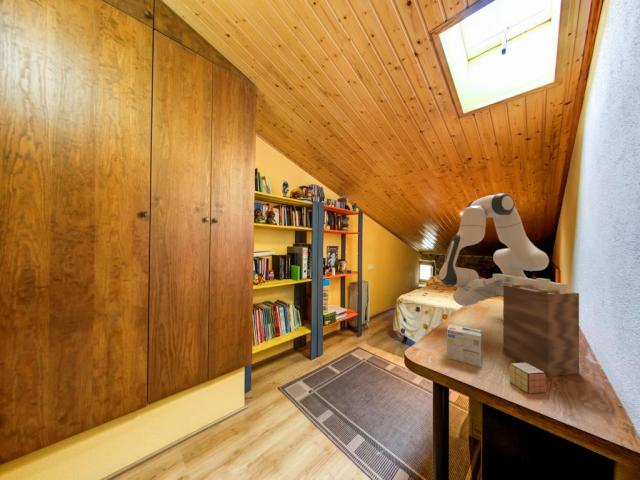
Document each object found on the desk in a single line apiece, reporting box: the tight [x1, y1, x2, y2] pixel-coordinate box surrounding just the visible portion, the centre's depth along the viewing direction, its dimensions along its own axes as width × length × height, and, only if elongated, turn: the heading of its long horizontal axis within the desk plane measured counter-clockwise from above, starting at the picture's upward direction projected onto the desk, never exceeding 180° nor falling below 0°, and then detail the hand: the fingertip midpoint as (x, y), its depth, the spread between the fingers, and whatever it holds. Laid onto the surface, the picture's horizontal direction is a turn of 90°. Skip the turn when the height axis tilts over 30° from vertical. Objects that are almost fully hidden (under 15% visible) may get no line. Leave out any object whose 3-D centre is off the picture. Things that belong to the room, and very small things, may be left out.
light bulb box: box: [446, 324, 483, 368], centre depth 83 cm, size 11×7×11 cm, turn 54°
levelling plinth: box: [502, 284, 580, 377], centre depth 81 cm, size 12×15×27 cm
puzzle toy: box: [509, 362, 546, 394], centre depth 67 cm, size 6×6×6 cm
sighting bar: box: [492, 273, 568, 294], centre depth 85 cm, size 3×24×4 cm, turn 8°
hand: (507, 278), depth 92 cm, fingers open, 8 cm apart
